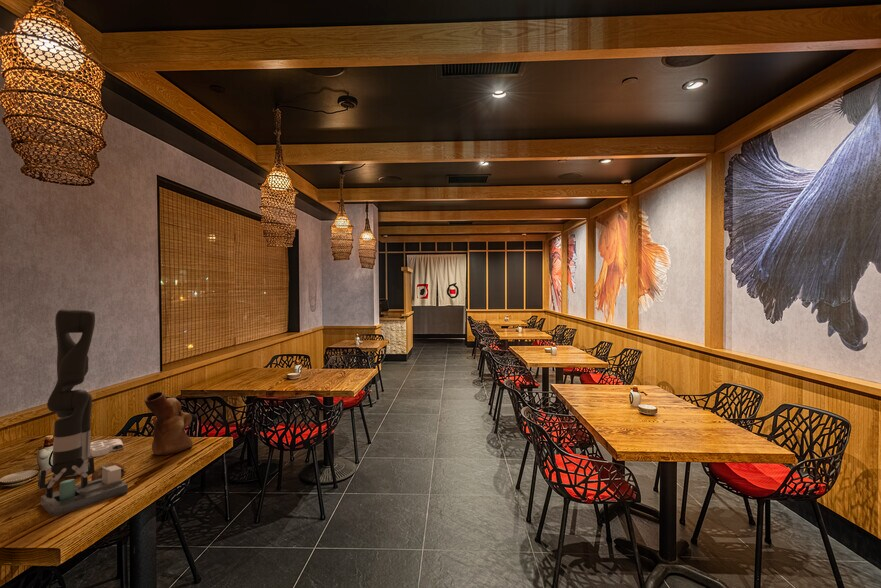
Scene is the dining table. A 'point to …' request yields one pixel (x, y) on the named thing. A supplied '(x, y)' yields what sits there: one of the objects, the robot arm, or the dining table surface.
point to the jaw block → (111, 474)
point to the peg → (67, 489)
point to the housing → (83, 497)
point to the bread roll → (98, 471)
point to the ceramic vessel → (168, 424)
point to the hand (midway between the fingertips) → (66, 492)
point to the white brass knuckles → (105, 447)
